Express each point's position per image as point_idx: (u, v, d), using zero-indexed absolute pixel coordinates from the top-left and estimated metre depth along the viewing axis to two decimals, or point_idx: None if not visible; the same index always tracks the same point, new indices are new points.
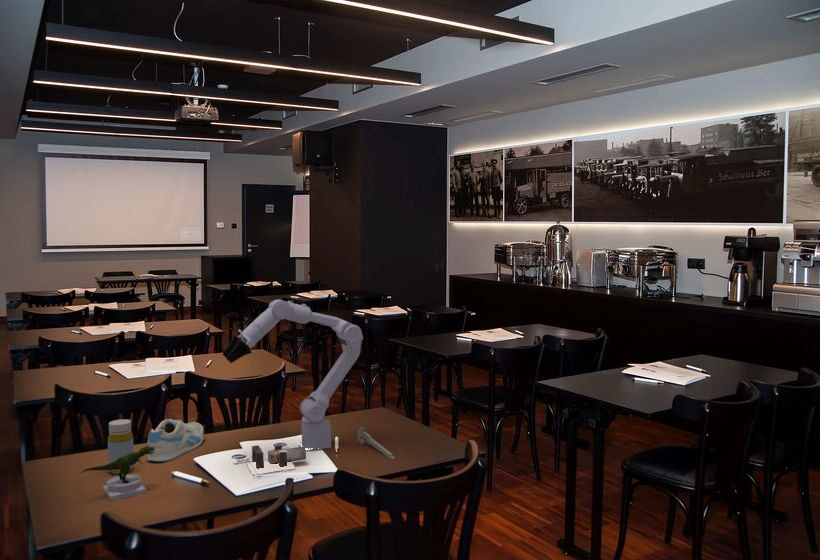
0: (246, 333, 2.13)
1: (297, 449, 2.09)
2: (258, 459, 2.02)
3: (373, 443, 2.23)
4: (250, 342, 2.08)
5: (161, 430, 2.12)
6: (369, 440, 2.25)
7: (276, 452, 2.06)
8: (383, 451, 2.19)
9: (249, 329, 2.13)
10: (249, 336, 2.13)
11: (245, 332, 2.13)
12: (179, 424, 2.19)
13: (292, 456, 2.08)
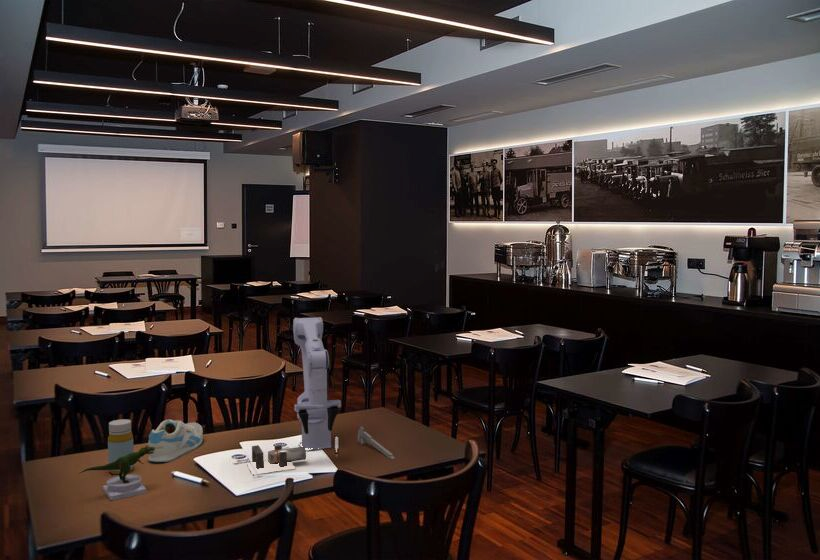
0: (325, 402, 2.11)
1: (297, 449, 2.09)
2: (258, 459, 2.02)
3: (373, 443, 2.23)
4: None
5: (162, 430, 2.11)
6: (369, 440, 2.25)
7: (276, 452, 2.06)
8: (383, 451, 2.18)
9: (325, 397, 2.10)
10: (326, 400, 2.12)
11: (324, 402, 2.10)
12: (179, 424, 2.19)
13: (292, 456, 2.08)
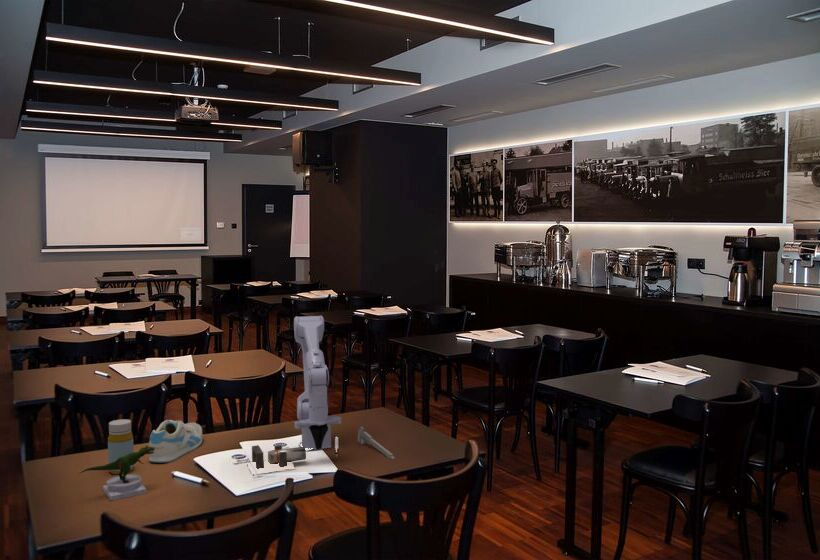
0: (326, 418, 2.11)
1: (297, 449, 2.09)
2: (258, 459, 2.02)
3: (373, 443, 2.23)
4: None
5: (163, 431, 2.11)
6: (369, 440, 2.25)
7: (276, 452, 2.06)
8: (383, 451, 2.18)
9: (325, 414, 2.11)
10: (327, 417, 2.12)
11: (324, 419, 2.11)
12: (180, 425, 2.18)
13: (292, 456, 2.08)
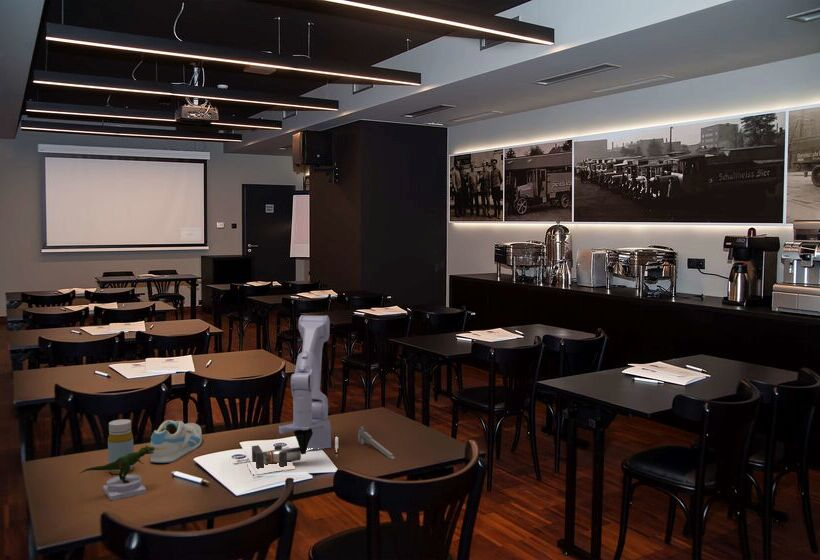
0: (310, 423, 2.09)
1: (292, 450, 2.09)
2: (258, 459, 2.02)
3: (373, 443, 2.23)
4: None
5: (165, 431, 2.11)
6: (369, 440, 2.25)
7: (271, 453, 2.06)
8: (383, 451, 2.18)
9: (310, 418, 2.09)
10: (311, 422, 2.11)
11: (309, 424, 2.09)
12: (181, 425, 2.18)
13: (287, 457, 2.07)
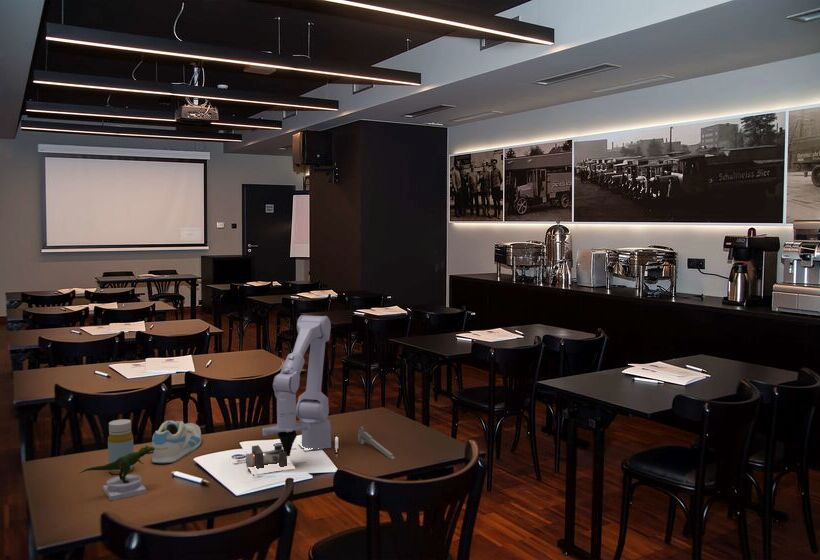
0: (294, 425, 2.07)
1: (275, 452, 2.07)
2: (258, 459, 2.02)
3: (373, 443, 2.23)
4: None
5: (167, 431, 2.10)
6: (369, 440, 2.25)
7: (254, 455, 2.04)
8: (383, 451, 2.18)
9: (294, 420, 2.07)
10: (295, 424, 2.09)
11: (293, 426, 2.07)
12: (182, 425, 2.18)
13: (271, 459, 2.05)
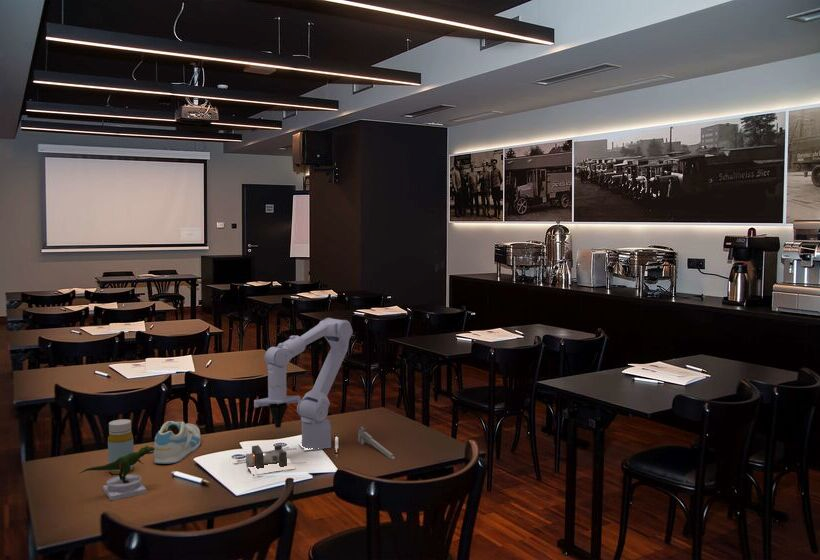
0: (285, 397, 2.14)
1: (275, 452, 2.07)
2: (258, 459, 2.02)
3: (373, 443, 2.23)
4: None
5: (170, 432, 2.10)
6: (370, 440, 2.25)
7: (254, 455, 2.04)
8: (383, 451, 2.18)
9: (284, 392, 2.14)
10: (286, 396, 2.16)
11: (284, 398, 2.14)
12: (183, 425, 2.18)
13: (271, 459, 2.05)
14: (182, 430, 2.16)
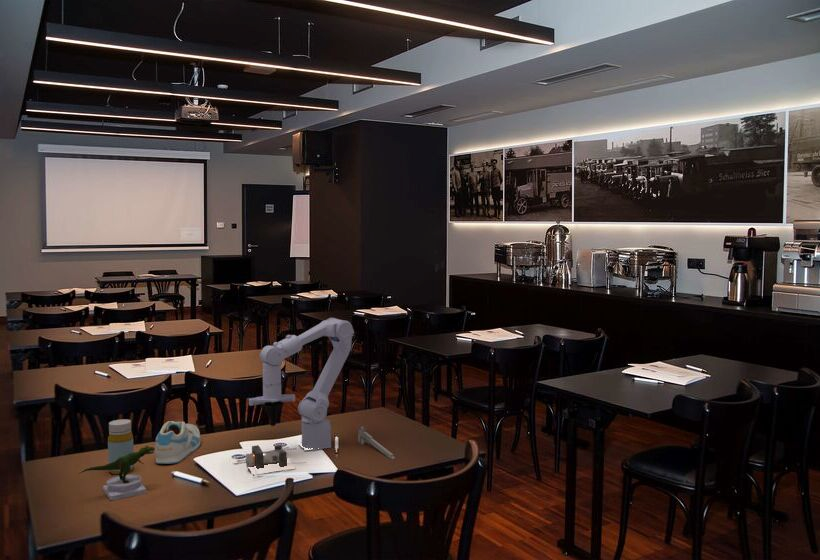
0: (279, 396, 2.16)
1: (275, 452, 2.07)
2: (258, 459, 2.02)
3: (374, 443, 2.23)
4: None
5: (171, 432, 2.10)
6: (370, 440, 2.25)
7: (254, 455, 2.04)
8: (383, 451, 2.18)
9: (279, 391, 2.16)
10: (281, 395, 2.17)
11: (278, 396, 2.15)
12: (184, 425, 2.18)
13: (271, 459, 2.05)
14: (183, 430, 2.16)
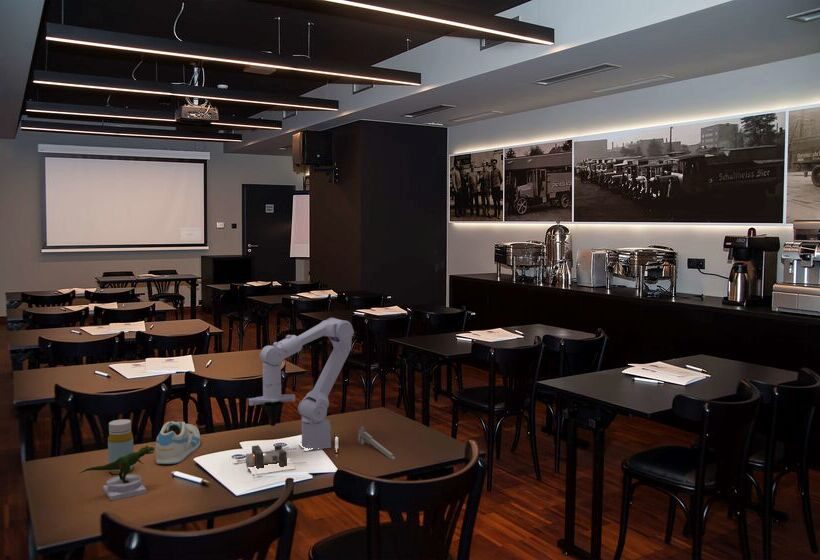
0: (279, 396, 2.16)
1: (275, 452, 2.07)
2: (258, 459, 2.02)
3: (374, 443, 2.23)
4: None
5: (172, 432, 2.10)
6: (370, 440, 2.25)
7: (254, 455, 2.04)
8: (384, 451, 2.18)
9: (279, 391, 2.16)
10: (281, 395, 2.17)
11: (278, 396, 2.15)
12: (184, 425, 2.18)
13: (271, 459, 2.05)
14: (183, 430, 2.16)
